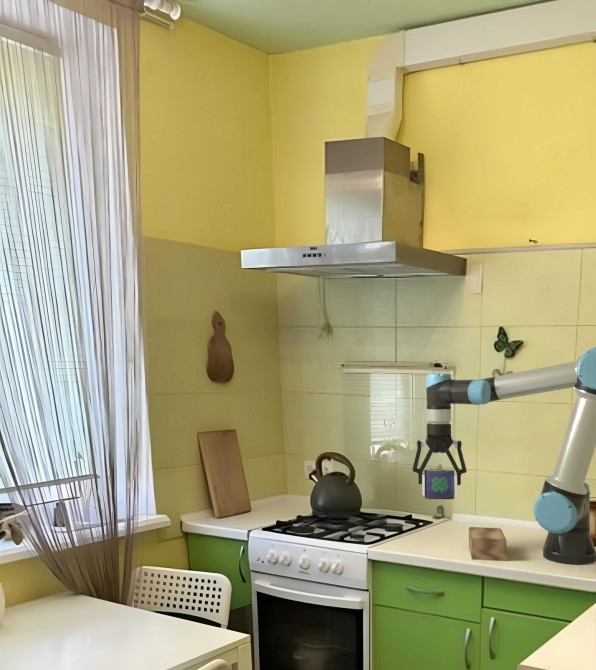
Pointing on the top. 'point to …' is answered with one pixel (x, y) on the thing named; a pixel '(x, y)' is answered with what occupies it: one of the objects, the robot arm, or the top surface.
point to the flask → (439, 483)
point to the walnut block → (487, 544)
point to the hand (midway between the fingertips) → (439, 495)
